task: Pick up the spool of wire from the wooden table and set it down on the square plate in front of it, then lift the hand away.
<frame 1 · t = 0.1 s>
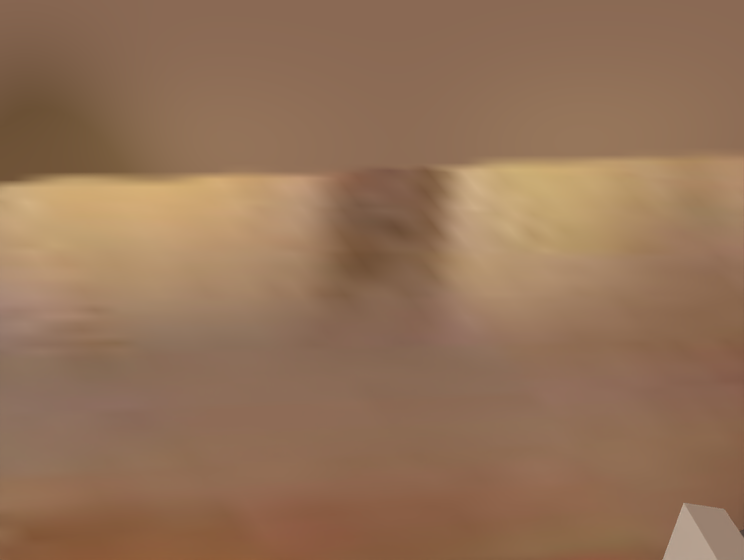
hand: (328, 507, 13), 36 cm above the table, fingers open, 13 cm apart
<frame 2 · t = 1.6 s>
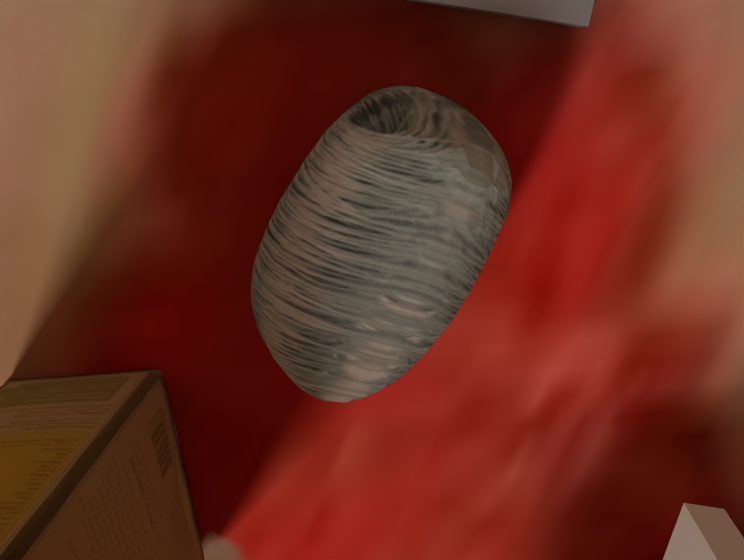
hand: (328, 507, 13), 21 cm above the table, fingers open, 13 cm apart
spool: (380, 223, 32), on the table
food packaging: (110, 473, 38), on the table
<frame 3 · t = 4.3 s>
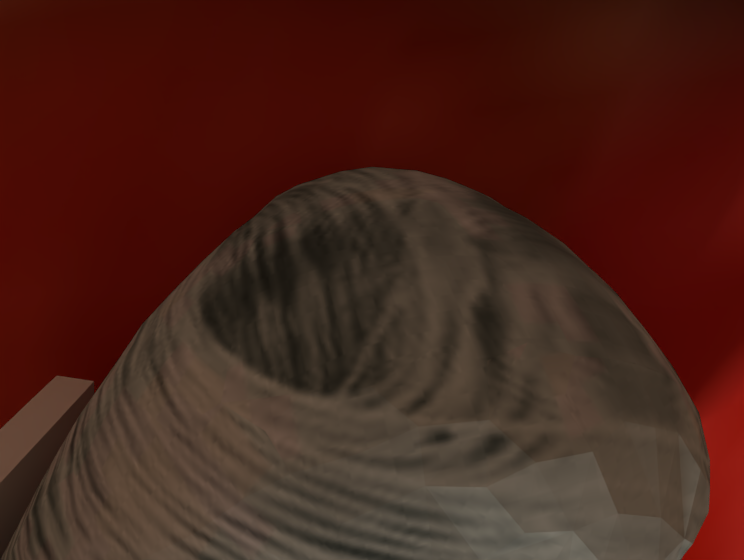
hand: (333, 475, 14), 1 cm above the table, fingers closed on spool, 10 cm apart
spool: (342, 436, 15), on the table, touching gripper
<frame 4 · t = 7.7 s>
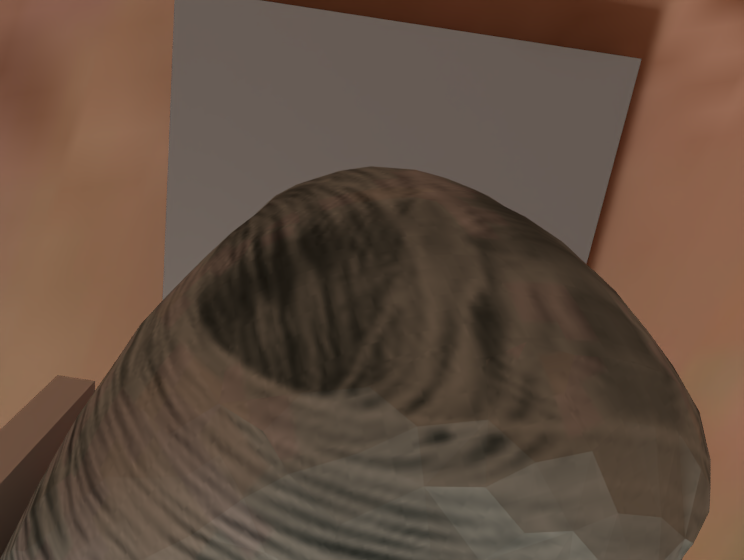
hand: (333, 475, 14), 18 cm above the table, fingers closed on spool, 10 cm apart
plate: (376, 233, 30), on the table
spool: (342, 436, 15), point 16 cm above the table, touching gripper
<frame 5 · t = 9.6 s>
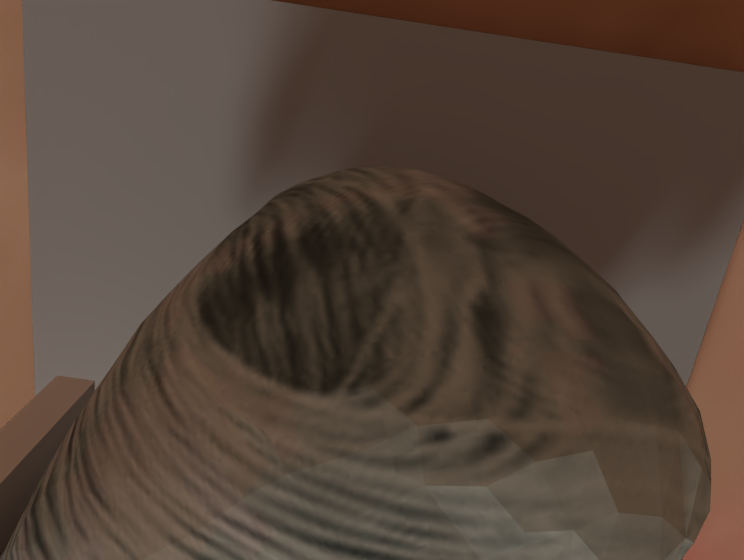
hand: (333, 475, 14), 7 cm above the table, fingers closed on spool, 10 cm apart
plate: (359, 336, 20), on the table
spool: (342, 436, 15), point 6 cm above the table, touching gripper
when the fingers open (5 cm above the table, at t = 11.0 s): spool drops 2 cm, resting on plate.
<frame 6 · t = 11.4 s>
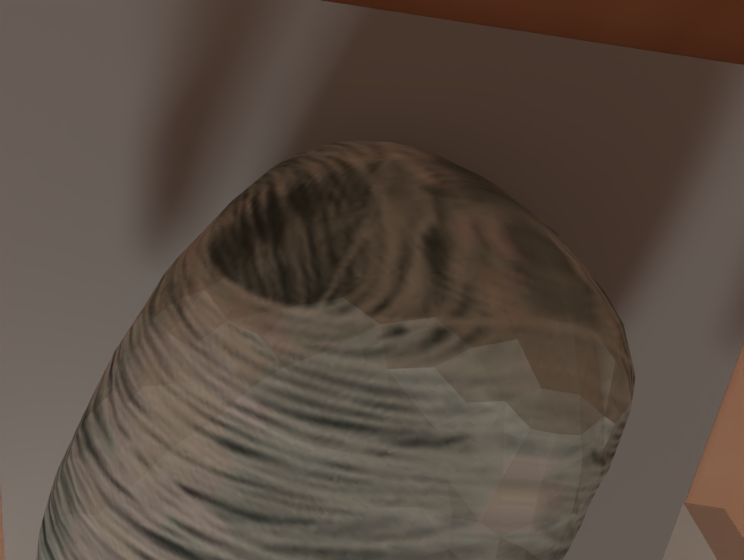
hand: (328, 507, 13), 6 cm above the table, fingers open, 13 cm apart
plate: (353, 360, 19), on the table
spool: (342, 389, 17), point 2 cm above the table, touching plate
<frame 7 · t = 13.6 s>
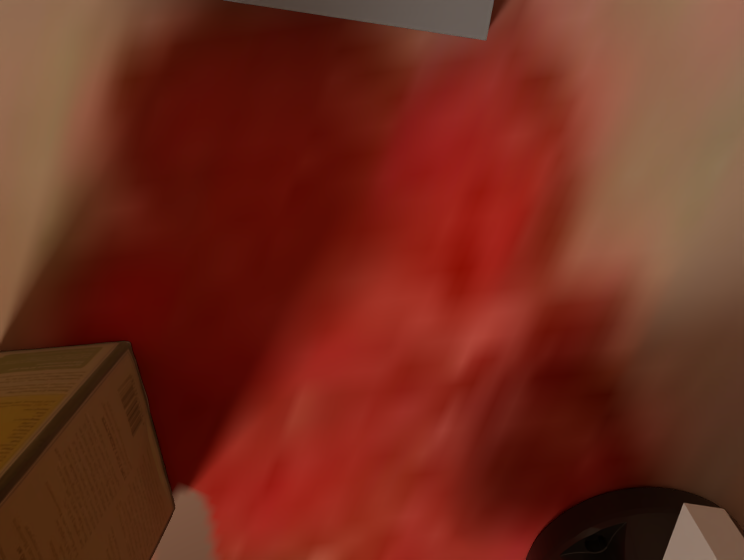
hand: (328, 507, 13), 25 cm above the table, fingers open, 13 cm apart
food packaging: (89, 433, 43), on the table
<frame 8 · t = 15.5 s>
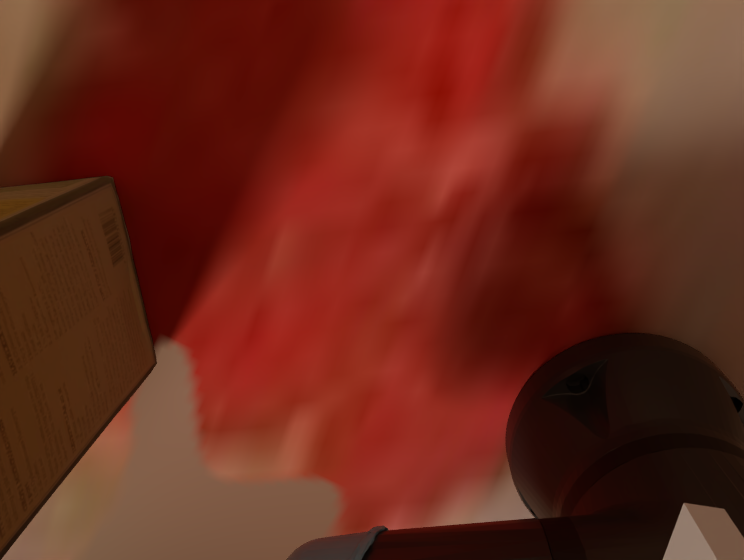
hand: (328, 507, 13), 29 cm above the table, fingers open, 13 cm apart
food packaging: (71, 280, 43), on the table
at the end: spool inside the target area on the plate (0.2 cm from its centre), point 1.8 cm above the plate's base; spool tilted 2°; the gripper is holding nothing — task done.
